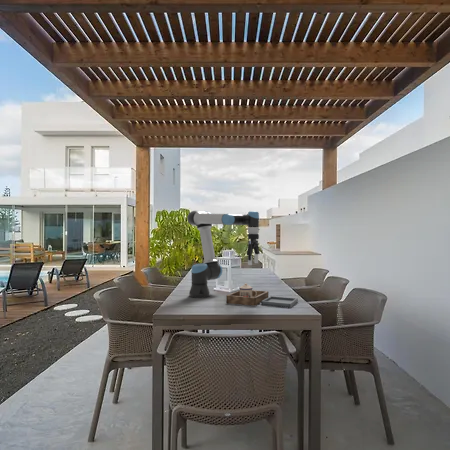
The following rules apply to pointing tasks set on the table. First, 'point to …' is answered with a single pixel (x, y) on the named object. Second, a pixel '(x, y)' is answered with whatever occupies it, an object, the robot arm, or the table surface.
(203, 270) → the robot arm
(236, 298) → the crate
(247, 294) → the teacup with lid
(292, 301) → the tray
